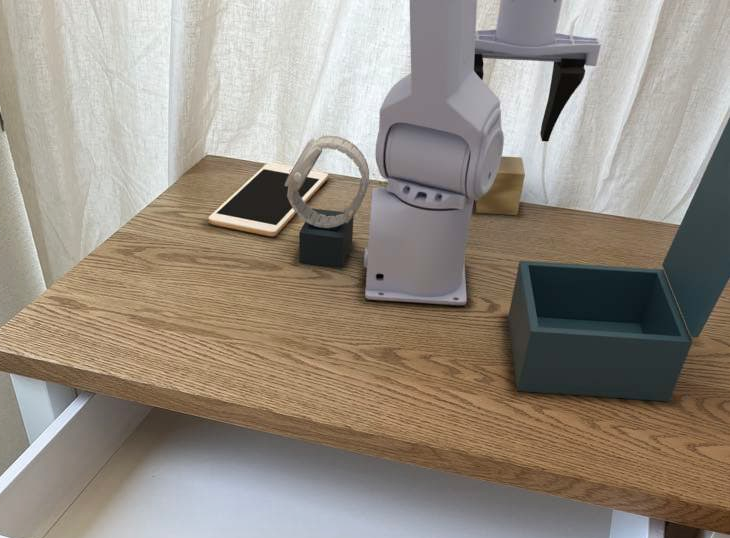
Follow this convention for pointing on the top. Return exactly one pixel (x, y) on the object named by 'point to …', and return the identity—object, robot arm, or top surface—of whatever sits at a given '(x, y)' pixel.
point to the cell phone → (264, 201)
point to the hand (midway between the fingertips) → (507, 135)
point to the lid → (703, 243)
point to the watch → (324, 227)
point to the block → (504, 189)
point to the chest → (596, 331)
